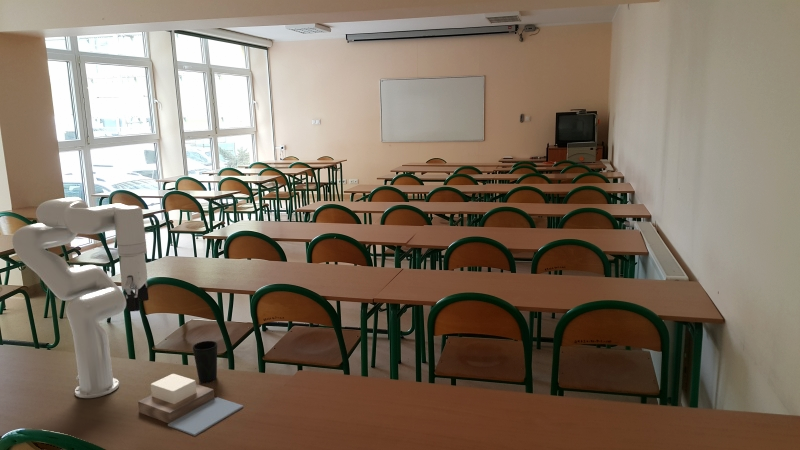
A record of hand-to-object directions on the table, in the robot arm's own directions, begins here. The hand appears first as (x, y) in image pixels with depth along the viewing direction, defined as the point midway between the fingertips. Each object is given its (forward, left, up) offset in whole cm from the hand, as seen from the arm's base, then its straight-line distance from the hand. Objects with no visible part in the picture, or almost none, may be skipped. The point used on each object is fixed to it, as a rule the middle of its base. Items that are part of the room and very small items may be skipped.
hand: (138, 305), depth 170 cm
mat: (+22, +3, -31) cm, 38 cm away
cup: (+3, +20, -31) cm, 37 cm away
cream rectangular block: (+8, +3, -28) cm, 29 cm away
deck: (+9, +3, -31) cm, 33 cm away
